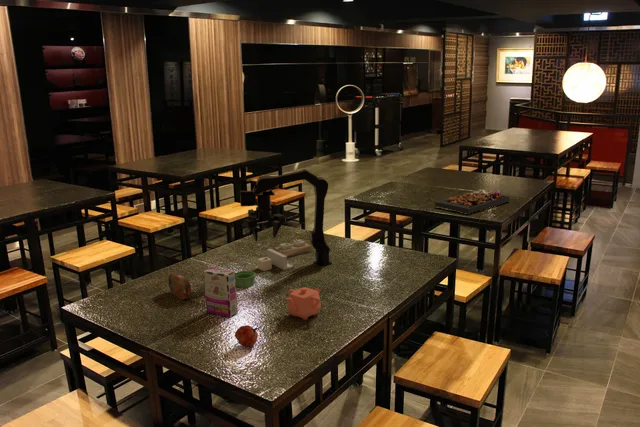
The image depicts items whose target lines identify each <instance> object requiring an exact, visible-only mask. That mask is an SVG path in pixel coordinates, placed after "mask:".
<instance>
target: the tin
mask: <svg viewBox="0 0 640 427" xmlns="http://www.w3.org/2000/svg"><path fill="white" fill-rule="evenodd" d="M168 286H169V291H170V292H171V293H172V295H174V296H175V297H176V298H179V299H180V300H187V299H189V298H190V297H191V295H192V288H191V283H190V280H189V279H188V278H186V277H185V276H183V275H181V274H179V273H171V274H170V275H169V276H168Z"/></svg>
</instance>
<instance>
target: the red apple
mask: <svg viewBox="0 0 640 427" xmlns="http://www.w3.org/2000/svg"><path fill="white" fill-rule="evenodd" d="M259 329H260V328H258V327H255V328H253V326H251V325H247V324H245V325H241V326H240V327H238V328H237V329H236V331H235V333H234V338H235V339H236V341H237V343H236V344H234V345H233V346H234V347H236V345H238V344H239V345H241V346H242V347H243V348H244V349H250V348H252V347H253V346H255V345H256V343H257V340H258V337H259V335H258V332H257V330H259Z"/></svg>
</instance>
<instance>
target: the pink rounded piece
mask: <svg viewBox="0 0 640 427" xmlns="http://www.w3.org/2000/svg"><path fill="white" fill-rule="evenodd" d="M321 291H322V290H321V289H320V288H318V287H316V288H315V289H312V288H310V287H305V286H304V287H300V288H297V289H296V290H295V289H292V288H291V289H289V290H288V294H289V295H288V297H286V300H287V311H288V313H289V315H290V314H291V315H292V317H297V318H301V319H302V320H303V321H308V319H309V317H311V316H317V315H318V312H319V311H320V310H321V307H322V306H321V303H322V302H321V297H320V294H321Z"/></svg>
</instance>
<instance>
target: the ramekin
mask: <svg viewBox="0 0 640 427" xmlns="http://www.w3.org/2000/svg"><path fill="white" fill-rule="evenodd" d="M235 278H236V288H237V287H238V288H244V289H245V288H249V287H252V286H254V285H255V278H256V273H255V272H254V271H250V270H241V271H236V272H235Z"/></svg>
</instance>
